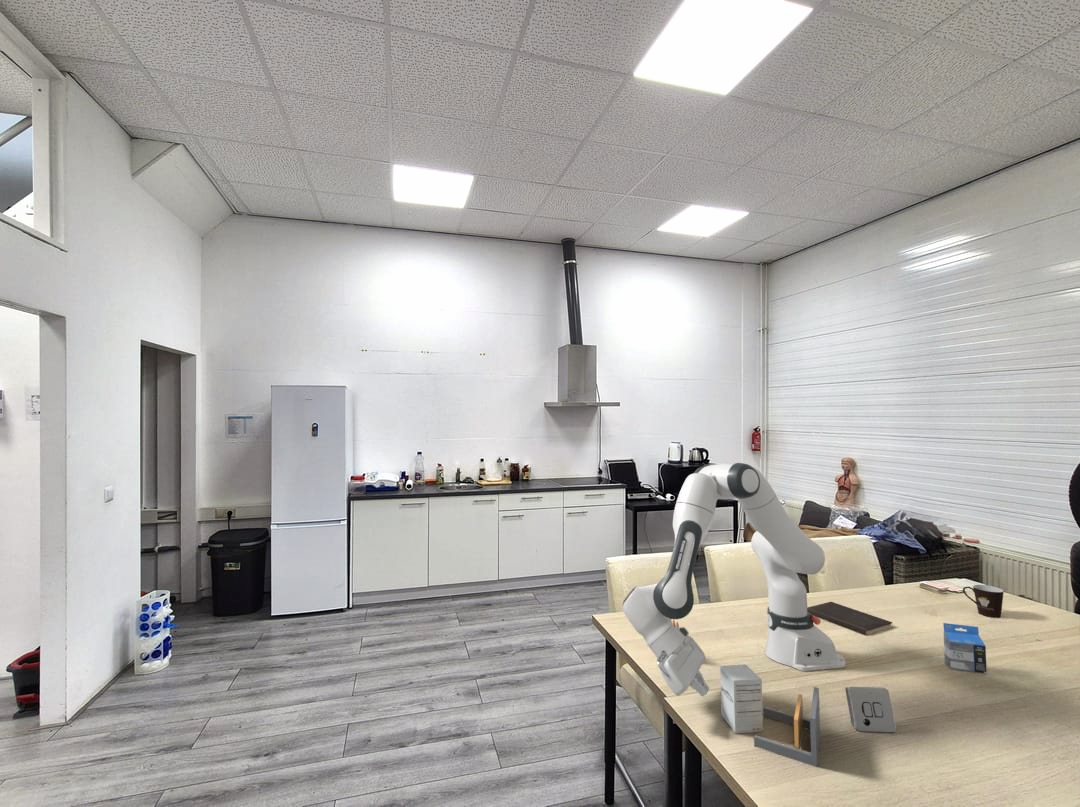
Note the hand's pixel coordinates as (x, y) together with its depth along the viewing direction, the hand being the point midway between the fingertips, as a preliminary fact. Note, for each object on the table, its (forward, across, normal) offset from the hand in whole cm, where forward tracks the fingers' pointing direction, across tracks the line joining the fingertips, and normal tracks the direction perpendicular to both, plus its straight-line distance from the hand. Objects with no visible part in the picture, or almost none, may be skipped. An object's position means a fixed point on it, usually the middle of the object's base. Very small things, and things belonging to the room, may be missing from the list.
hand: (706, 692), depth 123 cm
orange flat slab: (+18, 0, -12) cm, 21 cm away
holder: (+17, 0, -10) cm, 19 cm away
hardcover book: (+25, +88, -17) cm, 93 cm away
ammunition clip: (-9, +26, +16) cm, 32 cm away
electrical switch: (+28, +16, -21) cm, 39 cm away
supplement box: (+10, 0, -2) cm, 10 cm away
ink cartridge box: (+46, +64, -39) cm, 88 cm away
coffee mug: (+57, +124, -50) cm, 145 cm away
